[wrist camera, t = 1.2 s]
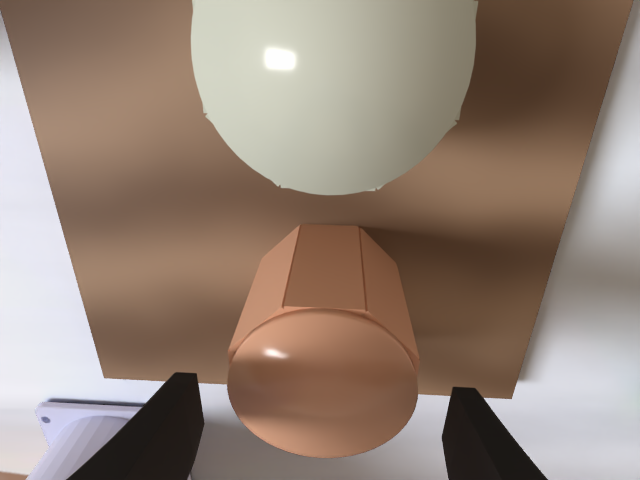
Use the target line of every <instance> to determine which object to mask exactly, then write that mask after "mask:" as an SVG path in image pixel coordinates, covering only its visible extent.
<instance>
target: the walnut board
mask: <svg viewBox="0 0 640 480" xmlns="http://www.w3.org/2000/svg"><path fill="white" fill-rule="evenodd" d="M474 1H478V7H477V13H476V19H475V22H476V49H475V58H474V66H473V71H472V75H471V79H470V84H469V87H468V90H467V92H466V95H465V98H464V101H463V104H462V106H461V111H460V117H459V120H455V121H456V122H457V124H456V125H455V126H453V127H452V128H451V129H450V130H449V131H448V132H446V134H445V135H444V137H443V138H442V139H441V140H440V142H439V143H438V144H437V145H436V146H435V148H434V149H433V150H432V151H431V152H430V153H429V154H428V155H427V156H426V157H425V158H424V159H423V160H422V161H420V162H419V163H418V164H417V165H415V166H414V167H413V168H411V169H410V170H409V171H407V172H406V173H405V174H403V175H401V176H399V177H398V178H396V179H394V180H392V181H391V182H388V183H386V184H385V185H384V186H382V187H381V188H380V189H379V190H378V189H377V188H375V191H363V192H359V193H352V194H346V195H319V194H310V193H306V192H301V191H297V190H293V189H291V188H281V185H279V186H277V185H276V184H275V183H274V182H273V181H271V180H270V179H268V178H266V177H264V176H263V175H261V174H260V173H258V172H257V171H255V170H254V169H252V168H251V167H250V166H249V165H247V164H246V163H245V162H244V161H243V160H242V159H240V158H239V157H238V156H237V155H236V154H235V152H234V151H233V150H232V149H231V148H230V147H229V146H228V145H227V144H226V142H225V141H224V140H223V138H222V137H221V135H220V134H219V133H218V131H217V130H216V128H215V126H214V125H213V123H212V122H211V121H210V120H208V119H207V118H206V117H205V116H206V115H207V113H204V112H203V103H202V100H201V97H200V94H199V90H198V87H197V84H196V80H195V76H194V70H193V64H192V55H191V27H192V16H193V4H192V0H0V10H1V13H2V17H3V20H4V24H5V27H6V31H7V34H8V38H9V42H10V45H11V49H12V52H13V56H14V59H15V63H16V66H17V70H18V73H19V77H20V81H21V84H22V88H23V91H24V95H25V98H26V102H27V105H28V109H29V113H30V116H31V120H32V123H33V127H34V130H35V134H36V137H37V141H38V145H39V148H40V152H41V155H42V159H43V162H44V166H45V169H46V173H47V177H48V180H49V184H50V187H51V191H52V194H53V198H54V201H55V205H56V209H57V212H58V216H59V219H60V223H61V226H62V230H63V233H64V237H65V241H66V244H67V248H68V251H69V255H70V258H71V262H72V265H73V269H74V273H75V276H76V280H77V283H78V287H79V290H80V294H81V297H82V301H83V305H84V308H85V312H86V315H87V319H88V322H89V326H90V329H91V333H92V337H93V340H94V344H95V347H96V351H97V354H98V358H99V361H100V365H101V369H102V372H103V376H104V378H112V379H131V380H151V381H167V380H168V379H169V378H170V377H171V376H172V375H173V374H174V373H175V372H185V373H197V378H198V383H209V384H227V379H228V373H229V369H230V367H229V358H228V349H229V346H230V344H231V341H232V338H233V336H234V333H235V330H236V327H237V325H238V322H239V319H240V316H241V314H242V311H243V308H244V306H245V303H246V300H247V297H248V295H249V292H250V289H251V286H252V284H253V281H254V278H255V276H256V273H257V270H258V267H259V265H260V262H261V259H262V258H263V257H264V256H265V255H266V254H267V253H268V252H269V251H270V250H272V249H273V248H274V247H275V246H276V245H277V244H278V243H280V242H281V241H282V240H283V239H284V238H285V237H286V236H287V235H289V234H290V233H291V232H292V231H293V230H294V229H295V228H297V227H298V226H299V225H302V224H319V225H346V226H358V227H361V228H362V229H363V230H364V231H365V232H366V233H367V234H368V235H369V236H370V237H371V238H372V239H373V240H374V241H375V242H376V243H377V244H378V245H379V246H380V247H381V248H382V249H383V250H384V251H385V252H386V253H387V254H388V255H389V256H390V257H391V258H392V259H393V260H394V261H395V262H396V264H397V267H398V271H399V275H400V280H401V284H402V288H403V292H404V296H405V300H406V305H407V309H408V313H409V317H410V321H411V325H412V329H413V334H414V338H415V342H416V346H417V350H418V354H419V358H420V363H419V369H418V375H417V384H418V394H424V395H444V396H451V393H452V388H453V387H471V388H476V389H477V390H478V391H479V393H480V394H481V396H482V397H483V398H502V399H512V396H513V393H514V389H515V386H516V383H517V379H518V376H519V373H520V370H521V366H522V363H523V360H524V357H525V353H526V350H527V347H528V344H529V340H530V337H531V334H532V330H533V327H534V324H535V321H536V317H537V314H538V311H539V308H540V304H541V301H542V298H543V295H544V291H545V288H546V285H547V281H548V278H549V275H550V272H551V268H552V265H553V262H554V259H555V255H556V252H557V249H558V246H559V242H560V239H561V236H562V232H563V229H564V226H565V223H566V219H567V216H568V213H569V210H570V206H571V203H572V200H573V196H574V193H575V190H576V187H577V183H578V180H579V177H580V174H581V170H582V167H583V164H584V161H585V157H586V154H587V151H588V147H589V144H590V141H591V138H592V134H593V131H594V128H595V125H596V121H597V118H598V115H599V112H600V108H601V105H602V102H603V98H604V95H605V92H606V89H607V85H608V82H609V79H610V76H611V72H612V69H613V66H614V63H615V59H616V56H617V53H618V49H619V46H620V43H621V40H622V36H623V33H624V30H625V27H626V23H627V20H628V17H629V13H630V10H631V7H632V4H633V0H474Z"/></svg>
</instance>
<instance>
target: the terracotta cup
mask: <svg viewBox="0 0 640 480" xmlns="http://www.w3.org/2000/svg"><path fill="white" fill-rule="evenodd" d="M228 358H229V367H230V369H229V373H228V379H227V390H228V395H229V399H230V402H231V405H232V407H233V409H234V411H235V413H236V415H237V416H238V417H239V419H240V420H241V421H242V423H243V424H244V425H245V426H246V427H247V428H248V429H249V430H250V431H251V432H252V433H254V434H255V435H256V436H257V437H259V438H260V439H262V440H264V441H265V442H267V443H269V444H271V445H273V446H275V447H277V448H279V449H282V450H284V451H287V452H290V453H294V454H297V455H303V456H308V457H317V458H337V457H346V456H352V455H356V454H360V453H364V452H366V451H369V450H372V449H374V448H376V447H378V446H380V445H382V444H384V443H386V442H387V441H389V440H390V439H392V438H393V437H394V436H395V435H397V434H398V433H399V432H400V431H401V430H402V429H403V428H404V426H405V425H406V424H407V423H408V421H409V420H410V418H411V416H412V414H413V412H414V410H415V407H416V403H417V399H418V384H417V375H418V369H419V363H420V358H419V354H418V350H417V346H416V342H415V338H414V334H413V329H412V325H411V321H410V317H409V313H408V309H407V305H406V300H405V296H404V292H403V288H402V284H401V280H400V275H399V271H398V267H397V264H396V262H395V261H394V260H393V259H392V258H391V257H390V256H389V255H388V254H387V253H386V252H385V251H384V250H383V249H382V248H381V247H380V246H379V245H378V244H377V243H376V242H375V241H374V240H373V239H372V238H371V237H370V236H369V235H368V234H367V233H366V232H365V231H364V230H363V229H362V228H361V227H358V226H346V225H319V224H302V225H299V226H298V227H297V228H295V229H294V230H293V231H292V232H291V233H290V234H289V235H287V236H286V237H285V238H284V239H283V240H282V241H281V242H280V243H278V244H277V245H276V246H275V247H274V248H273V249H272V250H270V251H269V252H268V253H267V254H266V255H265V256H264V257H263V258H262V259H261V262H260V265H259V267H258V270H257V273H256V276H255V278H254V281H253V284H252V286H251V289H250V292H249V295H248V297H247V300H246V303H245V306H244V308H243V311H242V314H241V316H240V319H239V322H238V325H237V327H236V330H235V333H234V336H233V338H232V341H231V344H230V346H229V349H228Z"/></svg>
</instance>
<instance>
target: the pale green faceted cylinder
mask: <svg viewBox="0 0 640 480" xmlns="http://www.w3.org/2000/svg"><path fill="white" fill-rule="evenodd" d="M192 4H193V16H192V27H191V55H192V64H193V70H194V76H195V80H196V84H197V87H198V90H199V94H200V97H201V100H202V103H203V112H204V113H207V115H206V116H205V117H206V118H207V119H208V120H210V121H211V122H212V123H213V125H214V126H215V128H216V130H217V131H218V133H219V134H220V135H221V137H222V138H223V140H224V141H225V142H226V144H227V145H228V146H229V147H230V148H231V149H232V150H233V151H234V152H235V154H236V155H237V156H238V157H239V158H240V159H242V160H243V161H244V162H245V163H246V164H247V165H249V166H250V167H251V168H252V169H254V170H255V171H257V172H258V173H260V174H261V175H263V176H264V177H266V178H268V179H270V180H271V181H273V182H274V183H275V184H276V185H277V186H279V185H281V188H291V189H293V190H297V191H301V192H306V193H310V194H319V195H346V194H352V193H359V192H363V191H375V188H377V189H378V190H379V189H380V188H381V187H382V186H384V185H385V184H386V183H388V182H391V181H392V180H394V179H396V178H398V177H399V176H401V175H403V174H405V173H406V172H407V171H409V170H410V169H411V168H413V167H414V166H415V165H417V164H418V163H419V162H420V161H422V160H423V159H424V158H425V157H426V156H427V155H428V154H429V153H430V152H431V151H432V150H433V149H434V148H435V146H436V145H437V144H438V143H439V142H440V140H441V139H442V138H443V137H444V135H445V134H446V132H448V131H449V130H450V129H451V128H452V127H453V126H455V125H456V124H457V122H456V121H455V120H459V117H460V111H461V106H462V104H463V101H464V98H465V95H466V92H467V90H468V87H469V84H470V79H471V75H472V71H473V66H474V58H475V49H476V22H475V19H476V13H477V7H478V1H474V0H192Z"/></svg>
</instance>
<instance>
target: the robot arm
mask: <svg viewBox="0 0 640 480" xmlns="http://www.w3.org/2000/svg"><path fill="white" fill-rule="evenodd" d="M35 413H36V416H37V418H38V421H39V423H40V426H41V428H42V431H43V433H44V436H45V438H46V441H47V443H48V446H49V448H48V449H47V451H46V452H45V454H44V455H43V456H42V458H41V459H40V460H39V462H38V463H37V465H36V466H35V467H34V469H33V470H32V472H31V473H30V474H29V476H28V477H27V479H26V480H191V475H190V471H191V469H192V466H193V463H194V461H195V457H196V453H197V450H198V446H199V443H200V439H201V435H202V431H203V427H204V418H203V412H202V405H201V398H200V392H199V385H198V378H197V373H185V372H175V373H174V374H173V375H172V376H171V377H170V378H169V379H168V380H167V381H166V382H165V383H164V384H163V385H162V386H161V388H160V389H159V390H158V391H157V392H156V393H155V394H154V395H153V396H152V397H151V398H150V399H149V400H148V401H147V403H146V404H145V405H144V406H143V407H131V406H112V405H94V404H75V403H56V402H42V403H40V404H39V405H38V406H37V407H36V409H35ZM442 442H443V449H444V455H445V461H446V467H447V473H448V478H449V480H548V479H547V478H546V477H545V476H544V475H543V473H542V472H541V471H540V470H539V469H538V468H537V466H536V465H535V464H534V463H533V462H532V460H531V459H530V458H529V457H528V455H527V454H526V453H525V452H524V451H523V449H522V448H521V447H520V446H519V444H518V443H517V442H516V441H515V439H514V438H513V437H512V436H511V434H510V433H509V432H508V430H507V429H506V428H505V426H504V425H503V424H502V422H501V421H500V420H499V419H498V417H497V416H496V415H495V413H494V412H493V411H492V409H491V408H490V406H489V405H488V404H487V402H486V401H485V400H484V398H483V397H482V396H481V394H480V393H479V391H478V390H477V389H476V388H471V387H453V388H452V393H451V397H450V402H449V406H448V411H447V416H446V420H445V425H444V429H443V434H442Z"/></svg>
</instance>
